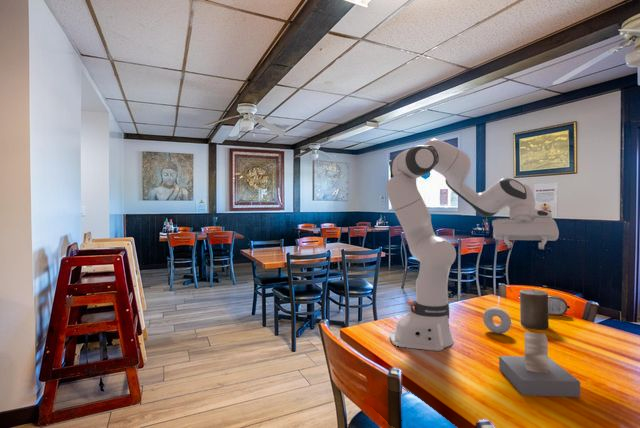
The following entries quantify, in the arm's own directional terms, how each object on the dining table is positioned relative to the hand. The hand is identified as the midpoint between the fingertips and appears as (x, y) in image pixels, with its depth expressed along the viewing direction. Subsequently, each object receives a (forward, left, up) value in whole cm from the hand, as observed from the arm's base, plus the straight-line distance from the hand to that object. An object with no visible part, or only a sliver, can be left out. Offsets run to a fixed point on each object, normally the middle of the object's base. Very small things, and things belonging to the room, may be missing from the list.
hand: (525, 247), depth 116 cm
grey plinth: (-10, -25, -34) cm, 44 cm away
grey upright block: (-10, -25, -30) cm, 41 cm away
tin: (+25, +35, -35) cm, 55 cm away
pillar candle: (+12, +20, -35) cm, 42 cm away
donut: (-6, +11, -35) cm, 37 cm away
